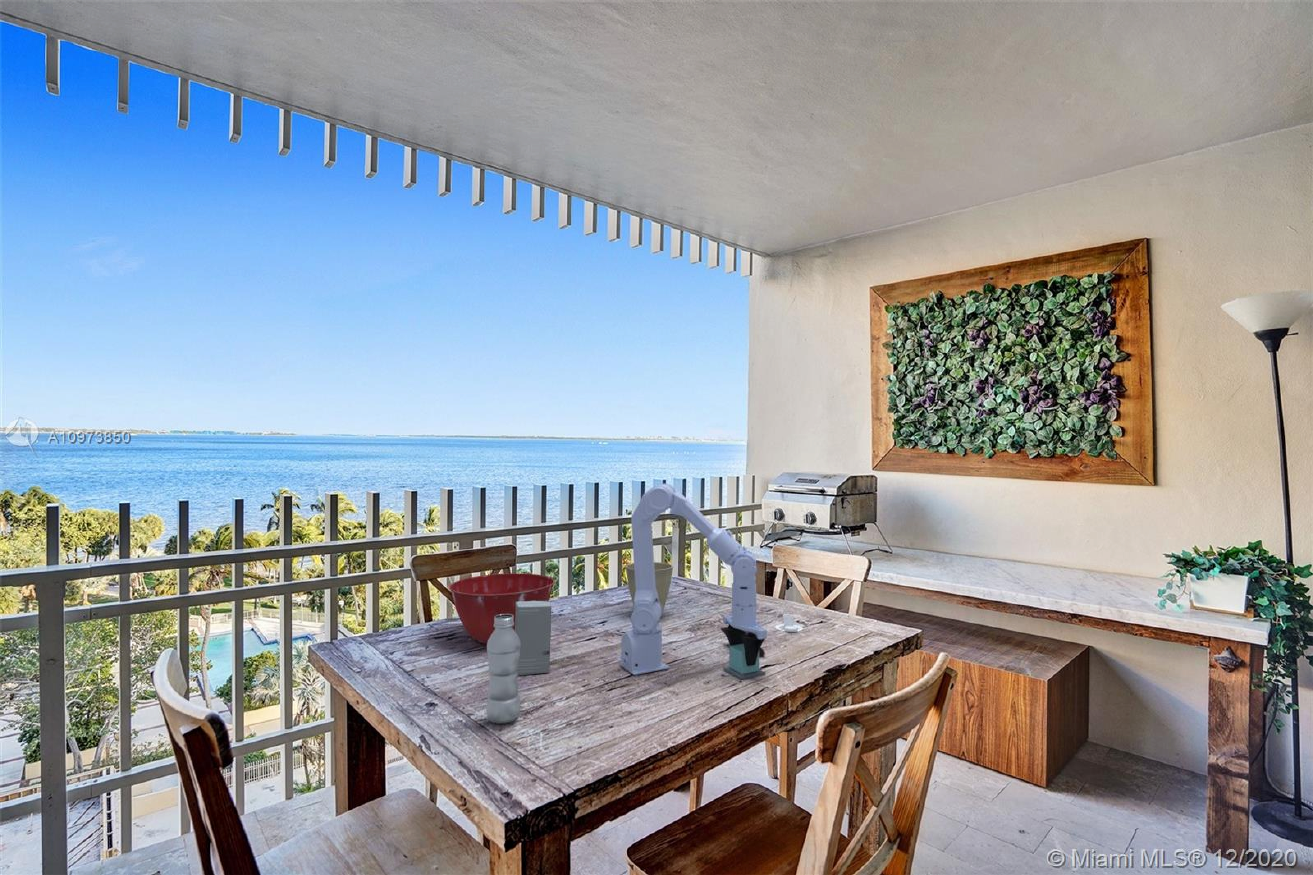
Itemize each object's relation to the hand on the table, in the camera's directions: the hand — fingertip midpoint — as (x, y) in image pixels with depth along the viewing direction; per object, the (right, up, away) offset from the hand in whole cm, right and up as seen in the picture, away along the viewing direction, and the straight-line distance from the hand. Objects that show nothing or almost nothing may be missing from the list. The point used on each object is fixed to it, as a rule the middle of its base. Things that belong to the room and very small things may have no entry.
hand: (744, 661), depth 143 cm
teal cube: (0, -2, 0) cm, 2 cm away
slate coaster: (0, -3, 0) cm, 2 cm away
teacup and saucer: (+16, -4, +35) cm, 38 cm away
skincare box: (-50, -3, +1) cm, 50 cm away
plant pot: (-23, -4, +48) cm, 53 cm away
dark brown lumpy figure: (+2, -3, +16) cm, 16 cm away
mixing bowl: (-63, -3, +26) cm, 69 cm away
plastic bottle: (-50, -2, -26) cm, 57 cm away
